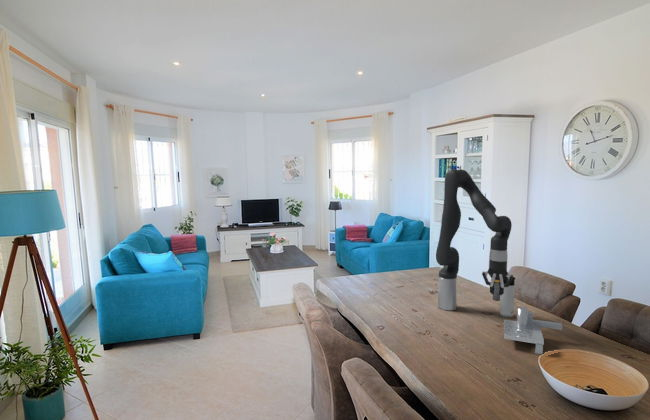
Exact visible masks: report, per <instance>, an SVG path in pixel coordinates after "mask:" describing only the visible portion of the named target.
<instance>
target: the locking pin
mask: <svg viewBox="0 0 650 420" xmlns="http://www.w3.org/2000/svg"><path fill="white" fill-rule="evenodd" d="M500 290H501V283H500V280H494V284H493V294H492V301H495V302H500Z"/></svg>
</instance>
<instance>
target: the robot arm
mask: <svg viewBox="0 0 650 420" xmlns="http://www.w3.org/2000/svg"><path fill="white" fill-rule="evenodd" d="M459 188H461V189H463V190H464V191H465V192H466V193H467V194H468V196H469V199H470V202H471V205H472V206H473V207H474V209H475V210H476V212H478V213H479V215H481V217H482V219H483V221H484V223H485V225H486V226H487V228H488V229H489V230H490V231H492V232H494V233H495V234H494V235H493V236H492V237H491V238H490V246H489V247H490V249H489V257H488V259H489V261H488V270H487V271H482V272H481V275H482V277H483V280H484V282H485V285H487V286H489V293H490V295H493V284H494V280H500V283H501V290H500V295H502V294H504V288H505V287H508V286H509V285H510V283H511V281H512V279H513V278H514V274H510V273H509V272H508V240H509V238H510V235H511V232H512V226H513V225H512V220H511V218H509V217H508V216H507V215H500V216H498V215H497V214H496V211H497V209H496V207H495V206H494V204H493V203H492V202H491V201H490V200H489V199H488V198H487V197H486V196H485V195H484V193H483V192H482V191H481V190H480V188H479V187H478V185H477V184H476V182H475V181H474V179H473V178H472V177H471V174H469V172H468V171H466V170H465V169H449V170H448V171H447V172H446V174H445V176H444V196H443V197H444V198H443V207H442V215H441V224H440V231H439V238H438V242H437V247H436V251H435V259H436V263H437V264H438V265H439V266H441V267H442V268H441V269H440V270H439V271H438V292H437V309H440V310H443V311H454V310H455V311H456V309H457V306H458V305H457V302H458V301H457V292H458V291H457V287H458V286H457V283H458V273H459V267H460V253H459V252H458V249H456V247H453V246H451V245H452V241H453V239H454V237H455V235H456V233H457V232H458V230H459V227H460V225H461V219H462V210H461V207H460V205H459V202H458V190H459ZM488 275H489V277H490V278H491V280H490V281H489V279H488ZM505 277H508V280H507V282H506V284H504V282H503V279H504V278H505Z"/></svg>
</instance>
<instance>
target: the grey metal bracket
mask: <svg viewBox="0 0 650 420" xmlns="http://www.w3.org/2000/svg"><path fill="white" fill-rule="evenodd" d="M516 309H517V310H516V320H511V319H503V336H504V339H503V340H510V341H516V342H517V341H518V342H524V343H530V344H534V345H535V346H534V352H535V354H536V355H540V354H542V353H543V352H544V345H545V341H544V340H545V339H544V336H543V335H544V334H543V333H542V329H541V328H546V329H554V330H559V331H560V330H561V331H563V323H562V322H555V321H547V320H541V319H534V312H533V311H529V310H528V307H524V306H518V307H517V308H516Z"/></svg>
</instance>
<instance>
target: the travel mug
mask: <svg viewBox="0 0 650 420" xmlns="http://www.w3.org/2000/svg"><path fill="white" fill-rule="evenodd" d="M513 277H514V276H513ZM507 280H508V276H506V277H505V278H504V279H503V282H504V284H506V282H507ZM515 280H516V277H514V278H513V279H512V281H511V283H510V285H509V286H508V287H505V288H504V294H502V295H500V301H499V302H500V304H499V315H500V316H501V317H503V318H506V319H511V318H512V319H513V318H514V317H515V314H514V312H515V285H516V284H515Z"/></svg>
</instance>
